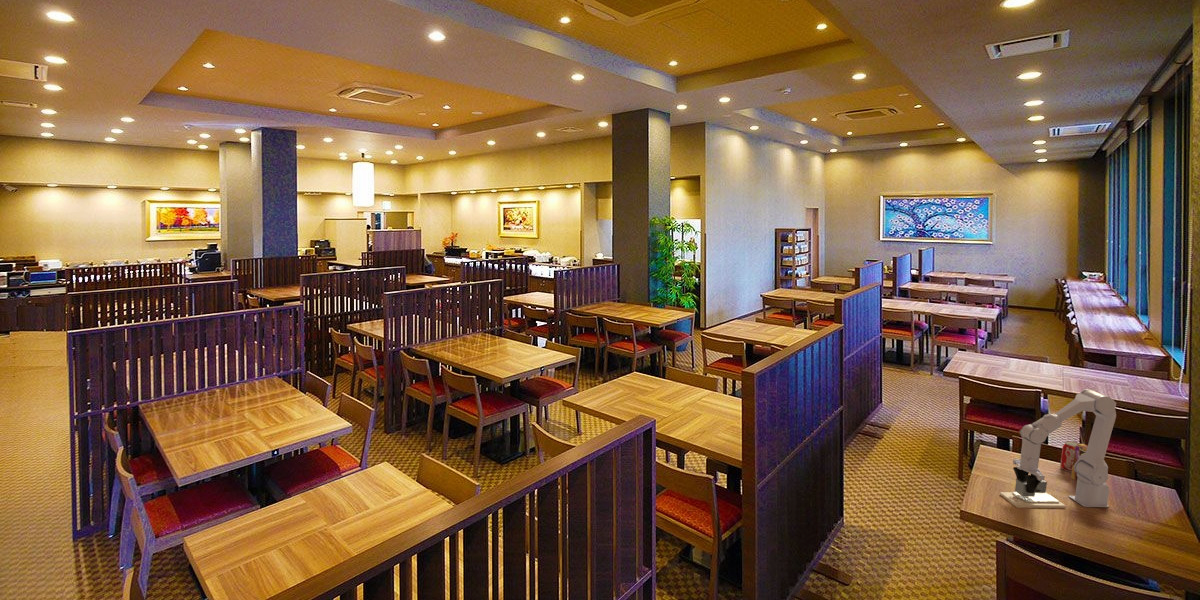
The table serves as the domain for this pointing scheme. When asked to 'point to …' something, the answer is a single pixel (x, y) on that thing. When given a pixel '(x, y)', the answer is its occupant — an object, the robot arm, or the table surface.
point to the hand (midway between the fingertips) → (1025, 489)
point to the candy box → (1079, 451)
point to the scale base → (1021, 504)
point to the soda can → (1068, 455)
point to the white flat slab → (1037, 498)
